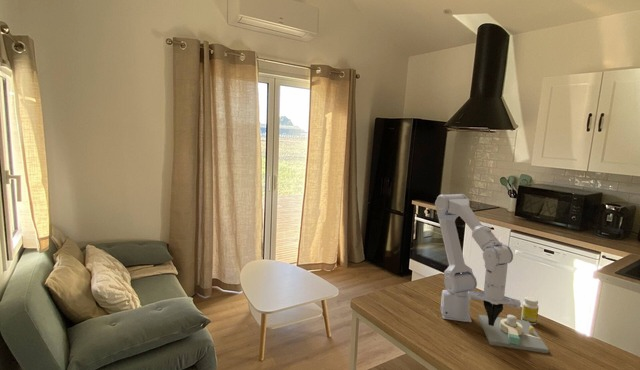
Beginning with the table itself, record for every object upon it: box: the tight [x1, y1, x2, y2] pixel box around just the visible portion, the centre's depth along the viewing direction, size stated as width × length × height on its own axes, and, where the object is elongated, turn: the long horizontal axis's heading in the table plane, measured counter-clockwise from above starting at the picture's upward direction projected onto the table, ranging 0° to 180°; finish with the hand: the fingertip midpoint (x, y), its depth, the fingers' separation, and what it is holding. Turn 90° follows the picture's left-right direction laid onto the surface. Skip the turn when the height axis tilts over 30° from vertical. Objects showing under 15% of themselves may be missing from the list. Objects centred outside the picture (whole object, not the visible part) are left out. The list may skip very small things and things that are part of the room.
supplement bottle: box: [520, 295, 539, 325], centre depth 116 cm, size 5×5×8 cm
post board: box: [477, 314, 550, 354], centre depth 108 cm, size 16×16×6 cm
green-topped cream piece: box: [500, 319, 523, 345], centre depth 105 cm, size 11×6×2 cm, turn 157°
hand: (490, 324), depth 104 cm, fingers closed
